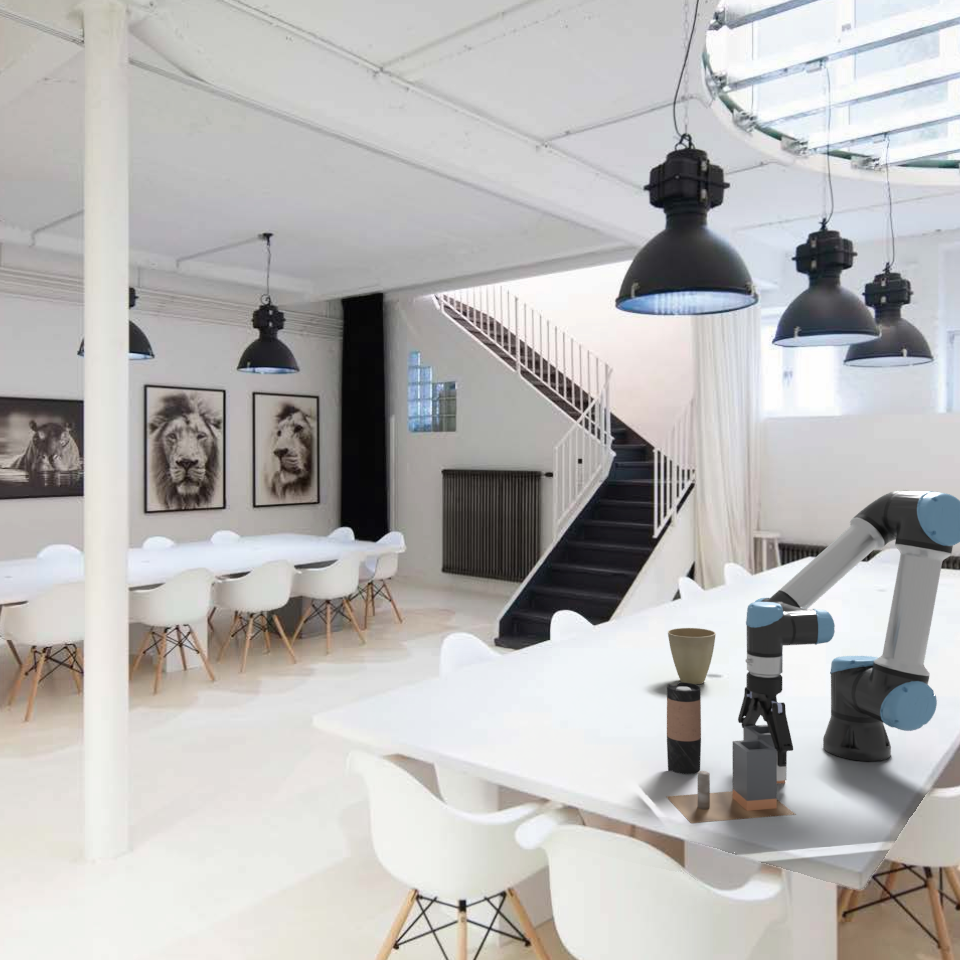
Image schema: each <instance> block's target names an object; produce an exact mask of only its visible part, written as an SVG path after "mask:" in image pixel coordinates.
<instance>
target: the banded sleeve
mask: <svg viewBox="0 0 960 960" xmlns="http://www.w3.org/2000/svg"><path fill="white" fill-rule="evenodd" d="M743 729H744V740H757V739H762V740H763V741H765V742H766V743H768V744H769V745H770V746H772V747H773V748H775V746H774V743H773V740H772V737H771V734H770V731H769V728H768V725H767V724H758V725H757V724H756V725H755V726H744V728H743ZM785 783H786V780H783V781H777V784H785Z"/></svg>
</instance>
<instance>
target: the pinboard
mask: <svg viewBox="0 0 960 960" xmlns="http://www.w3.org/2000/svg"><path fill="white" fill-rule="evenodd" d="M710 777H711V773H710V772H709V771H705V770H700V771H699V772H697V793H694V794H692V793H691V794H681V795H669V796H668V795H667V796H665V797H666V799H668V801H669V802H670V803H671V804H672V805H673V806H674V807H675V808H676V809H677V810H678V811H679V812H680V813H681V815H683V817H685V818H686V819H687V821H688V822H689V823H690V824H697V823H710V822H720V821H721V822H723V821H732V820H733V821H734V820H747V819H758V818H760V819H761V818H768V817H769V818H771V817H778V816H779V817H781V816H782V817H783V816H792V815H793V816H795V815H797V814H796V813H795V812H793V811H792V810H791V809H790V808H788V807H787V806H786V805H785V804H784V803H782V801H780V800H778V799H777V808H775V809H762V810H750V811H747V810H746V809H744V808H743V807H742V806H741V805H740V804H739V803H738V802H737V801H735V800H734V799H733V790H732V791H719V792H711V791H710V790H711V787H710V786H711V785H710V784H711V779H710Z"/></svg>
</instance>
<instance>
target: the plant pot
mask: <svg viewBox="0 0 960 960" xmlns="http://www.w3.org/2000/svg"><path fill="white" fill-rule="evenodd" d="M716 635H717V633H716V632H715V631H714V630H711V629H707V628H700V627H699V628H698V627H680V628H679V627H678V628H672V629H669V630H668V631H667V637H668V642H669V649H670V652H671V657H672V659H673V663H674V664H673V665H674V668H675V670H676V672H677V676H678V678H679V680H680V682H684V683H692V684H696V685H700V684H704V683H705V681H706V679H707V676H708V672H709V669H710V666H711V663H712V658H713V653H714V649H715V642H716Z"/></svg>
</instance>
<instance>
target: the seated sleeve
mask: <svg viewBox="0 0 960 960" xmlns="http://www.w3.org/2000/svg"><path fill="white" fill-rule="evenodd" d="M777 784H778V783H777V750H776V749H775V748H773V747H772V746H770V745H769V744H768V743H766V742H765V741H763V740H762V739H757V740H743V739H742V740H733V741H732V791H733V799H734V800H735V801H737V802H738V803H739V804H740V805H741V806H742V807H743V808H744V809H746V810H747V811H750V810H762V809H775V808H777V800H778V799H777V798H778V796H777V789H778V787H777Z"/></svg>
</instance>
